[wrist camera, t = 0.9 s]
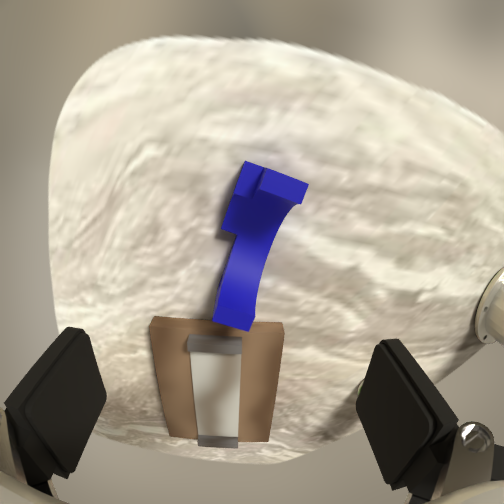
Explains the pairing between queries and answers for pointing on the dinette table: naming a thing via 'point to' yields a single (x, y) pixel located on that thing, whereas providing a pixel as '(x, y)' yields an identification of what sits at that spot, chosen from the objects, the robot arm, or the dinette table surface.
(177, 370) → the rail board
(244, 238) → the blue curved piece
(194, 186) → the dinette table surface
